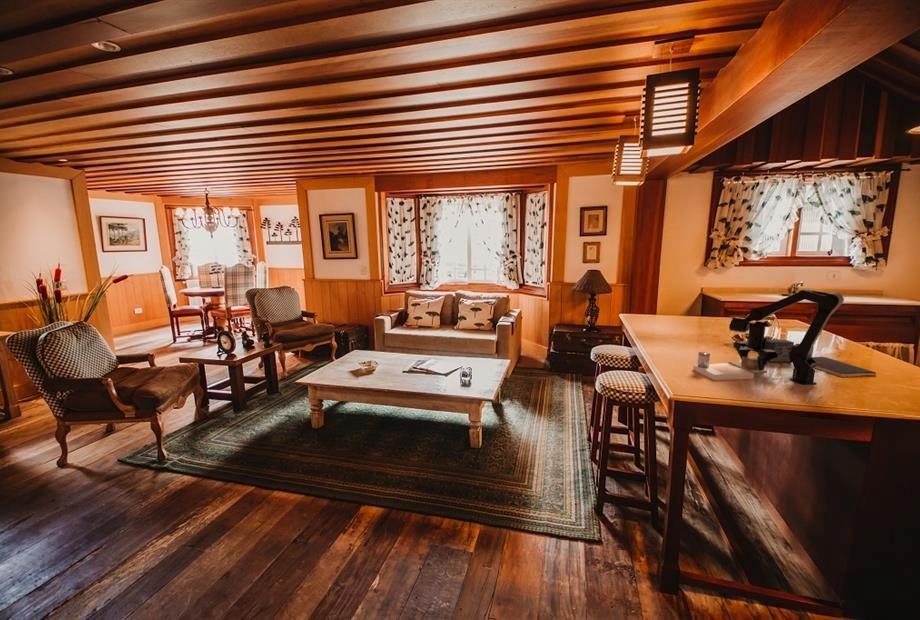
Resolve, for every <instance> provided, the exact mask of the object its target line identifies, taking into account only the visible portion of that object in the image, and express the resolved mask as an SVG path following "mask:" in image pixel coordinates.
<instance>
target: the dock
mask: <svg viewBox="0 0 920 620" xmlns="http://www.w3.org/2000/svg"><path fill="white" fill-rule="evenodd" d="M697 365H698V364H693V366H692V370H693V371H695V372H697V373H699V374H701V375H703V376H705V377H707V378H709V379H712V380H713V381H727V380H747V379H749V380H750V379H751V380H752V379H754V377H755V376H754V375H755V373H754V372H753V371H751V370H749V369H746V368H744V367H741V365H738V364H736V363H733V362H730V361H729V362H726V363H709V368H701V367H698V366H697Z"/></svg>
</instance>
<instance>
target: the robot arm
mask: <svg viewBox="0 0 920 620" xmlns="http://www.w3.org/2000/svg"><path fill="white" fill-rule="evenodd" d="M804 300H805V301H809V302H812V303H814V304H815V303H816V304H817V311H816V314H815V316H814V318H813V319H812V322H811V323H810V324H809V327H808V329H807V330H806V332H805V334H804V336H803V338H802V339H801V342H800V343H794V345H793V346H792V348H791V351H790V352H789V353H788V354H790V355H789V359H790V361H791V362H792V363H791V364H792V365H793V370H792V377H789V380H790V381H793V382H795V383H797V384H801V385H817V382H816V381H814V380H815V373H816V370H815V368H814V367H816V365H817V364H818V363H817V362H816V361H815V360H814V359H813V358H812V357H813V354H814V347H815V344H816V342H817V340H818V339H819V338H820V335H821V333H822V331H823V329H824V328H825V326H826V324H827V323H828V321H829V319H830V317H831V316H832V315H833V314H834V313H835V312H836V311H837V310H838V309H839V308H840V306H841V305H843V303H844V302H845V297H844V296H843V294H841V293H840V292H833V291H832V292H824V291H819V290H818V291H817V290H813V289H809V288H808V289H807V288H805V289H801V290H799V291H797V292H796V293H793V294H791V295H789V296H787V297H784V298H781V299H780V300H777V301H774V302H772V303H771V304H767V305H763V306H759V307H755V308H753V309H750V310H749V312H748V315H747V316H746V317H744V318H743V317H738V316H734V317H733V316H732V318H731V321H730V323H729V328H728V329H729V330H730V331H731V332H736V333H744V334H745V333H747V332H748V335H746V336H745V338H746V339H747V341H744V340H743V341H735V342H734V343H733V348H735V349H734V350H735V351H736V352H737V354H738V355H739V357H740V360H741V361H742V357H747V356H749V353H750V352H755V353H757V358H758V366H759V370H760V371H762V370H763V368H764V367H765V368H766V365H767V364H768V363H769V362H768V361H769V360H771V359H774V358H777V356H778V353H777V352H776V351H773V350H774V348H775V346H776V344H774V343H771V342H768V341H767V340H768V339H767V337H765V333H766V332H765V331H766V327H767V328H770V327H772V324H771V323H770V322H769V321H768V320H766V319H768V318H769V317H770V316H773V315H774V314H775V313H777V312H779V311H780V310H783V309H786V308H788V307H790V306H792V305H795V304H798V303H800V302H802V301H804ZM763 320H764V321H763ZM765 320H766V321H765ZM754 321H755V322H754ZM762 349H767V350H762ZM770 349H771V350H770ZM765 368H764V369H765Z"/></svg>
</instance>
